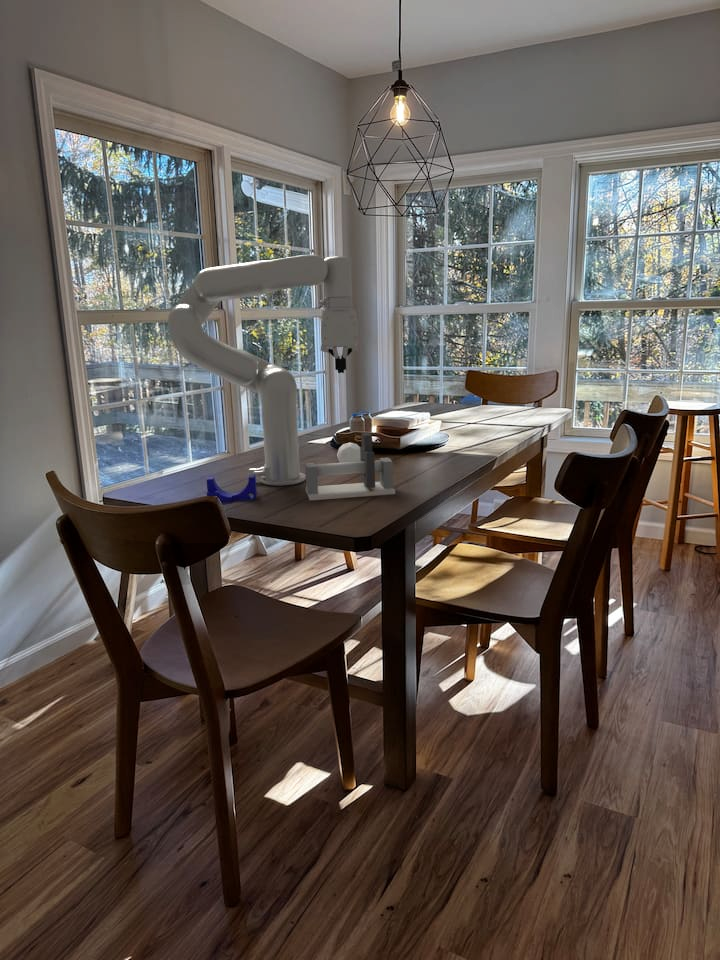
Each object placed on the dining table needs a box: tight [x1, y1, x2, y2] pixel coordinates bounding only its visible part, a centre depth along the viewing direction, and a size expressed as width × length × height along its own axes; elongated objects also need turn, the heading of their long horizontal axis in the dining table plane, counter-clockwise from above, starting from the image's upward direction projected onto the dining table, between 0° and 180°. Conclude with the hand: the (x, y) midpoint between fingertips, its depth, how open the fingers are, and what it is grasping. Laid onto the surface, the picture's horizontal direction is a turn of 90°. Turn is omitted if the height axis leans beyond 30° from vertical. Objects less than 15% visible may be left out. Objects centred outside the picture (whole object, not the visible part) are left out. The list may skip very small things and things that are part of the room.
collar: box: [359, 432, 376, 488], centre depth 173 cm, size 2×9×13 cm, turn 10°
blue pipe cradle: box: [206, 474, 258, 504], centre depth 170 cm, size 12×4×6 cm, turn 94°
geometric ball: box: [336, 442, 361, 463], centre depth 202 cm, size 8×8×8 cm
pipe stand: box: [304, 457, 396, 501], centre depth 174 cm, size 22×10×8 cm, turn 100°
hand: (340, 372), depth 186 cm, fingers closed
